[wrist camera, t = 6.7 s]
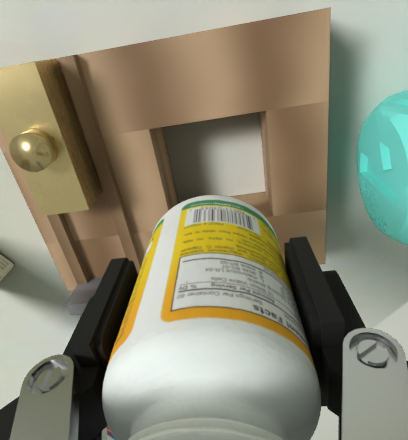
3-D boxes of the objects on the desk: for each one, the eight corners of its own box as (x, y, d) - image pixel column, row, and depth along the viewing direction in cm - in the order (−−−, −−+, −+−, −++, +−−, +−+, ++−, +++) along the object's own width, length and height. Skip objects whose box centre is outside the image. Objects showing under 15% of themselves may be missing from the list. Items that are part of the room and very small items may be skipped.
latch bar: (56, 58, 18) (23, 63, 15) (102, 192, 22) (83, 217, 19) (5, 68, 18) (-38, 74, 15) (59, 198, 22) (33, 224, 19)
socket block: (310, 12, 20) (350, 2, 14) (311, 234, 28) (337, 289, 22) (6, 69, 22) (-72, 81, 16) (85, 260, 30) (52, 317, 24)
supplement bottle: (234, 165, 12) (277, 450, 4) (298, 264, 14) (419, 590, 6) (123, 232, 14) (-21, 541, 5) (196, 313, 16) (175, 625, 7)
